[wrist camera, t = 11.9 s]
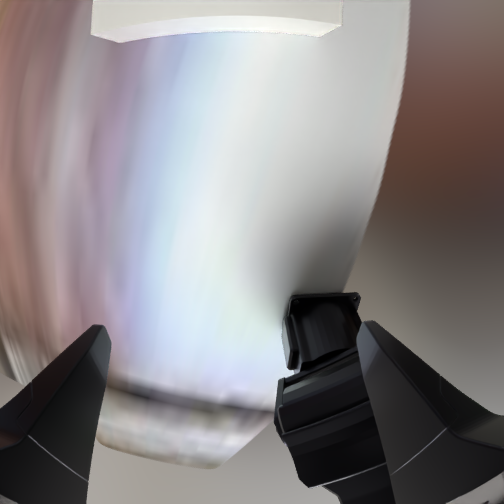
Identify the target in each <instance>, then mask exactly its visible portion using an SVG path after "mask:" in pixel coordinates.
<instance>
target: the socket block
mask: <svg viewBox="0 0 504 504" xmlns="http://www.w3.org/2000/svg"><path fill="white" fill-rule="evenodd" d="M340 26H342V0H93V7H92V22H91V35H94V36H97V37H101V38H104V39H108V40H111V41H114V42H118V43H123V42H128V41H134V40H140V39H146V38H153V37H160V36H168V35H178V34H189V33H204V32H271V33H286V34H297V35H306V36H315V37H321V36H323V35H325V34H326V33H328V32H330V31H332V30H334V29H336V28H338V27H340Z"/></svg>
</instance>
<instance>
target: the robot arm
mask: <svg viewBox="0 0 504 504" xmlns="http://www.w3.org/2000/svg"><path fill="white" fill-rule="evenodd" d="M355 297H356V298H355ZM354 298H355V299H354ZM360 299H361V297H360V295H359V294H358V293H357V292H354V293H334V294H312V295H294V296H292V297H291V298H290V302H289V310H288V316H286V317H285V318H284V320H283V329H282V342H283V348H284V354H285V359H286V365H287V368H288V369H289V370H294V373H295V374H294V375H292V376H290V377H287V378H285V377H284V378H282V379H279V380H278V388H277V397H276V405H275V415H274V424H275V426H276V431H277V432H278V434H279V436H280V438H281V440H282V441H283V443H284V444H285V445H286V446H287V447H288V448H289V451H290V453H291V455H292V458H293V460H294V464H295V467H296V471H297V474H298V477H299V479H300V480H301V481H302V482H303V483H304V484H305V485H306V486H307V487H308V488H314V487H318V486H322V487H324V488H325V489H327V490H329V491H330V492H332V493H333V494H335V495H336V496H337V497H338V499H339V501H340V503H341V504H504V416H501V415H497V414H494V413H492V412H490V411H488V410H487V409H485V408H484V407H482V406H481V405H479V404H478V403H477V402H475V401H474V400H472V399H471V398H469V397H468V396H466V395H465V394H464V393H462V392H461V391H460V390H458V389H457V388H456V387H454V386H453V385H452V384H451V383H449V382H448V381H447V380H446V379H444V378H443V377H442V376H440V374H439V373H437V372H436V371H435V370H434V369H433V368H431V367H430V366H429V365H428V364H427V363H425V362H424V361H423V360H422V359H421V358H419V357H418V356H417V355H416V354H414V353H413V352H412V351H411V350H410V349H408V348H407V347H406V346H405V345H404V344H402V343H401V342H400V341H399V340H397V339H396V338H395V337H394V336H393V335H391V334H390V333H389V332H388V331H386V330H385V329H384V328H383V327H381V326H380V325H379V324H378V323H376V322H375V321H373V320H371V321H364V322H362V321H361V319H360V317H359V315H358V313H357V310H358V306H359V303H360ZM296 300H298V301H297V302H294V301H296ZM110 353H111V340H110V337H109V335H108V332H107V330H106V328H105V326H104V325H97V324H94V325H92V326H91V327H90V328H89V329H88V330H86V331H85V332H84V333H83V334H82V335H81V336H80V337H79V338H77V339H76V340H75V341H74V342H73V343H72V344H71V345H70V346H69V347H67V348H66V349H65V350H64V351H63V352H62V353H61V354H60V355H59V356H58V357H57V358H55V359H54V360H53V361H52V362H51V363H50V364H49V365H48V366H47V367H46V368H45V369H44V370H43V371H41V372H40V373H39V374H38V375H37V376H36V377H35V378H34V379H33V380H32V381H31V382H30V383H29V384H28V385H27V386H26V387H25V388H24V389H22V390H21V391H20V392H19V393H18V394H17V395H16V396H15V397H14V398H12V399H11V400H10V401H9V402H8V403H6V404H5V405H4V406H3V407H2V408H0V504H86V500H87V491H88V480H89V474H90V467H91V459H92V453H93V447H94V441H95V436H96V430H97V425H98V420H99V415H100V410H101V406H102V401H103V396H104V392H105V388H106V383H107V375H108V368H109V360H110Z"/></svg>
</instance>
